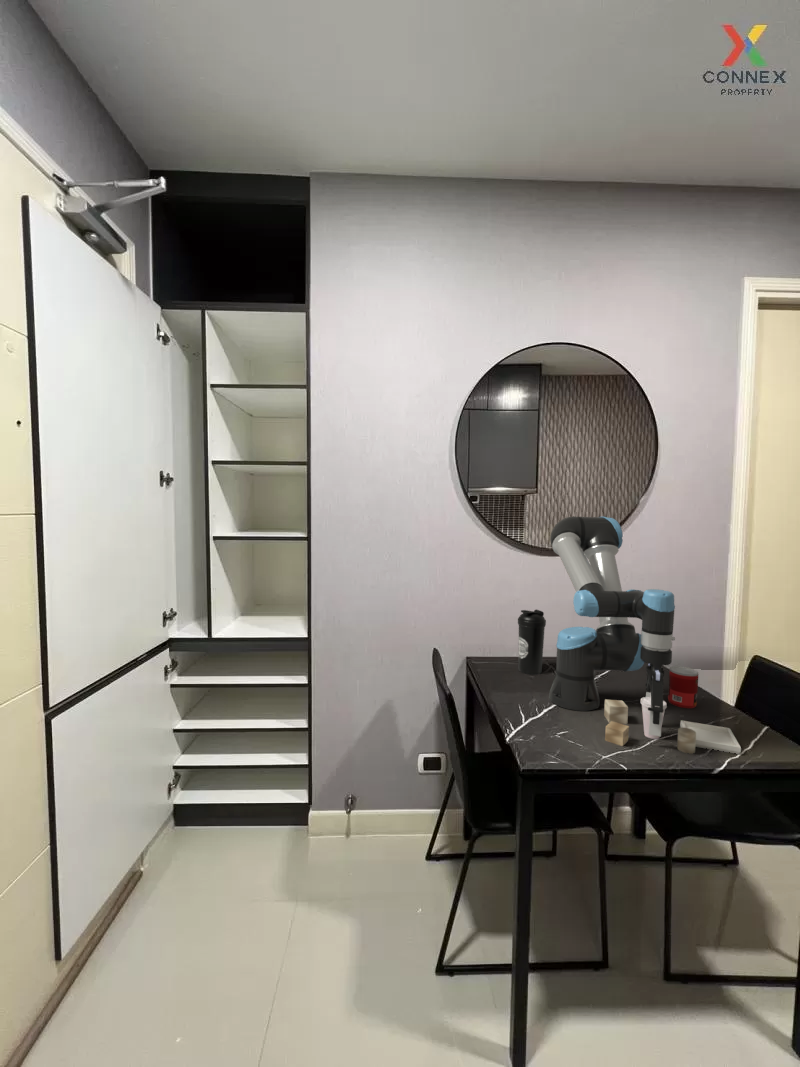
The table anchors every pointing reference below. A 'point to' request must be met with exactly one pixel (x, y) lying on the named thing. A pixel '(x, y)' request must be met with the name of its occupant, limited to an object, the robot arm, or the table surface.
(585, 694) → the robot arm
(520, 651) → the water bottle
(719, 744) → the tray
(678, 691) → the canned food
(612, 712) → the birch cube
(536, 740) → the table surface
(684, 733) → the birch dowel
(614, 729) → the oak block
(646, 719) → the smoothie
